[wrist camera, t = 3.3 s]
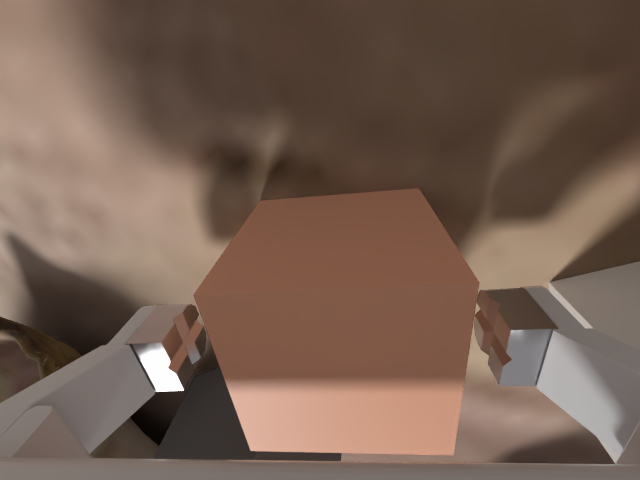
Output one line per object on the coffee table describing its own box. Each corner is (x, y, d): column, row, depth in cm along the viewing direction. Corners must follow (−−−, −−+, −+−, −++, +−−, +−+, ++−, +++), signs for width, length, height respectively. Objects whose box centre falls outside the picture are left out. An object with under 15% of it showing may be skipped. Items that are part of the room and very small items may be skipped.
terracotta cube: (418, 187, 10) (479, 282, 5) (414, 313, 12) (453, 455, 7) (260, 199, 10) (193, 294, 6) (285, 317, 12) (250, 451, 8)
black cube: (283, 339, 13) (249, 476, 9) (341, 409, 15) (339, 550, 10) (195, 375, 14) (128, 506, 10) (258, 434, 16) (225, 567, 12)
